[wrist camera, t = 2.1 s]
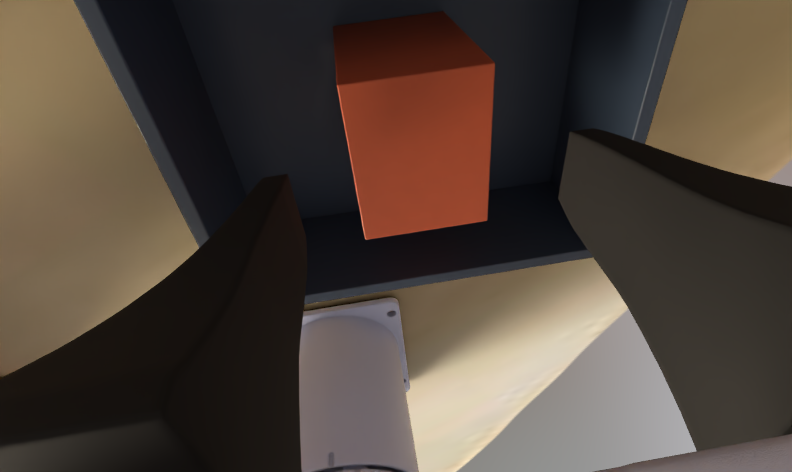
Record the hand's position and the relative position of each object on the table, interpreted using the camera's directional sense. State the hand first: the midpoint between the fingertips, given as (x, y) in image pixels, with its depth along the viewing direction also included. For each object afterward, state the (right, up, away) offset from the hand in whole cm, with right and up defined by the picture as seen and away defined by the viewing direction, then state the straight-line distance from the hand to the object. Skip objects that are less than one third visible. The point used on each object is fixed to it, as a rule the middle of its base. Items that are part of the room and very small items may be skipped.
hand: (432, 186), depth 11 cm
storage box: (-1, +5, +6) cm, 8 cm away
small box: (-1, +5, +6) cm, 7 cm away
